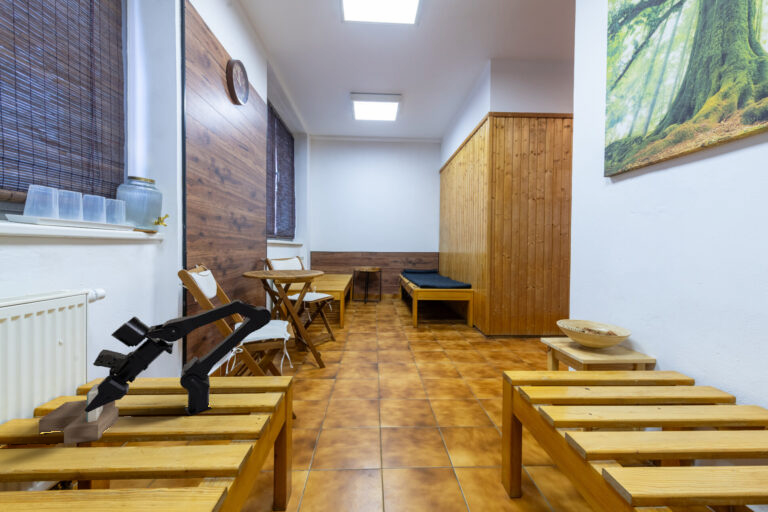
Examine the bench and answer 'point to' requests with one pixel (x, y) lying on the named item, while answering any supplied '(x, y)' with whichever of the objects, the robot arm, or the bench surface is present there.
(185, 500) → the bench surface
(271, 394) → the bench surface
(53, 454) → the bench surface
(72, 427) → the platform
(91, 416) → the tile
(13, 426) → the bench surface
